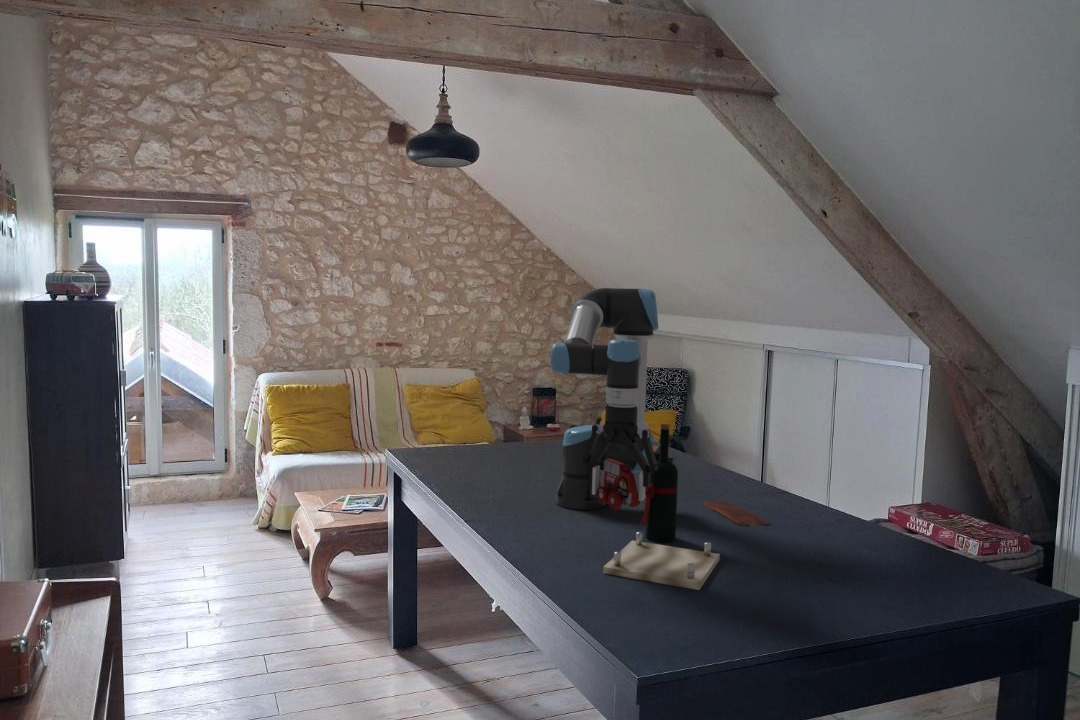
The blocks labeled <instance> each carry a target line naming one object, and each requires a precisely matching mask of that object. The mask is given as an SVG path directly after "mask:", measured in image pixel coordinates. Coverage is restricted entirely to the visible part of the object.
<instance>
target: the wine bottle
mask: <svg viewBox="0 0 1080 720" xmlns="http://www.w3.org/2000/svg"><path fill="white" fill-rule="evenodd" d="M670 427H671V425H670V424H667V423H664V424H663V423H661V424H660V435H659V437H660V443H659V446H660V460H658V461H657V465H658V469H657V470H656V471H654V472H650V484H649V486H648V487H645V503H644V508H643V509H644V510H643V515H642V518H641V521H640V524H642V523H643V526H645V539H646V540H647V539H648V541H649V542H654V543H657V544H658V543H659V544H668V543H674V542H675V541H676V539H677V538H676V534H677V507H678V506H677V503H678V483H679V482H678V479H679V470H678V468H677V466H676V465H675V464H674V463H673V462H671V461H669V449H670V448H669V447H670Z"/></svg>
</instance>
